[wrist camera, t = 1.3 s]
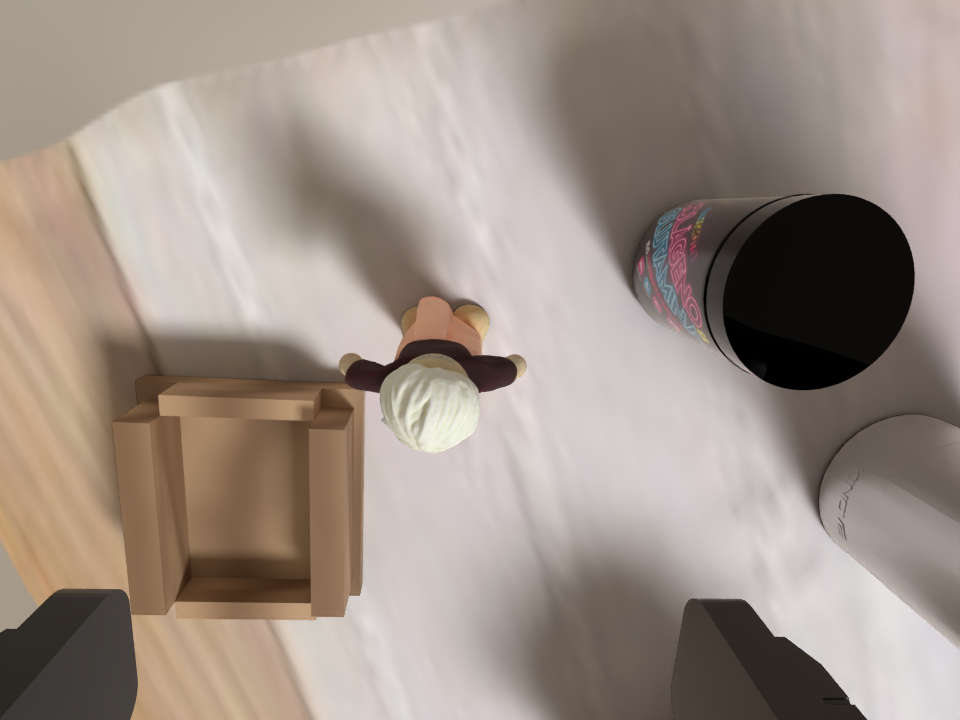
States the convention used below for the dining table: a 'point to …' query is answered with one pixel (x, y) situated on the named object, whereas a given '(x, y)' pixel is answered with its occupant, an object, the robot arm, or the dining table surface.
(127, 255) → the dining table surface
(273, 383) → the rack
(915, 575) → the robot arm
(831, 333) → the supplement container
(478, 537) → the dining table surface
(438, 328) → the grandmother figurine
